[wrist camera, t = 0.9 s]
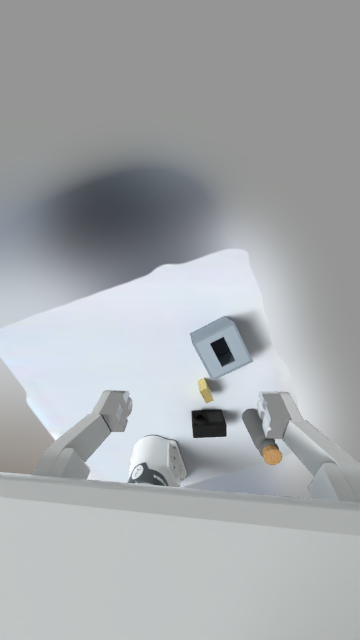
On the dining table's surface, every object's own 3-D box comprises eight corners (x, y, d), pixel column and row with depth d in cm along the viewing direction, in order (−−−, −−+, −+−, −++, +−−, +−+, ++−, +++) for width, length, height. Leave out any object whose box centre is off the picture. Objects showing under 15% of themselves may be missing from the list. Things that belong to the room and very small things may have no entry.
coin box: (240, 348, 56) (253, 361, 46) (206, 364, 57) (212, 380, 47) (224, 316, 54) (234, 322, 44) (190, 333, 55) (192, 343, 45)
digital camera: (221, 406, 59) (226, 421, 52) (221, 420, 60) (226, 436, 53) (191, 407, 59) (192, 422, 53) (191, 421, 60) (193, 438, 53)
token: (210, 388, 58) (213, 400, 52) (203, 391, 58) (206, 403, 52) (204, 377, 57) (206, 388, 52) (197, 381, 58) (199, 391, 52)
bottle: (260, 409, 59) (287, 449, 45) (256, 424, 60) (281, 468, 46) (243, 407, 59) (265, 446, 45) (240, 422, 60) (259, 465, 46)
